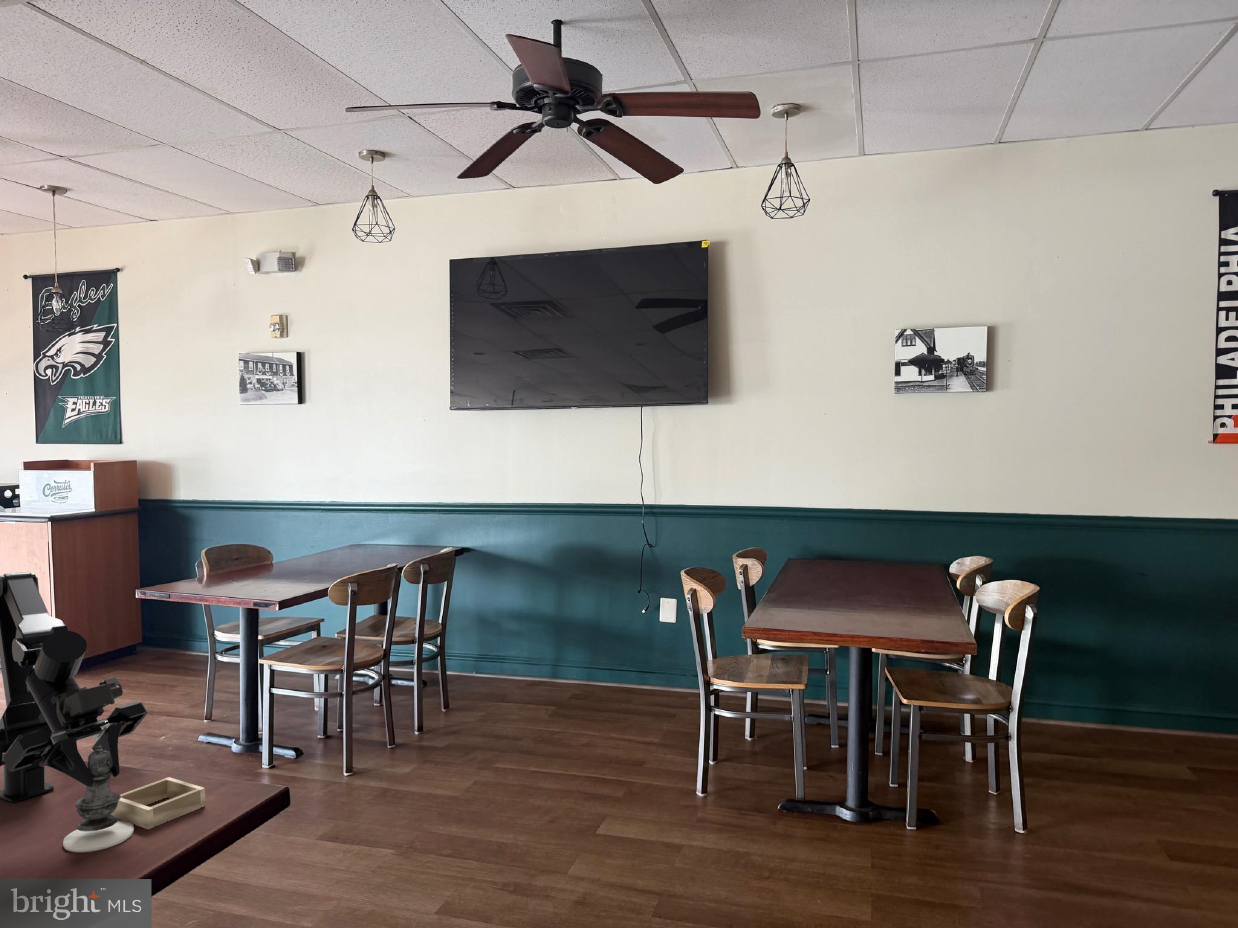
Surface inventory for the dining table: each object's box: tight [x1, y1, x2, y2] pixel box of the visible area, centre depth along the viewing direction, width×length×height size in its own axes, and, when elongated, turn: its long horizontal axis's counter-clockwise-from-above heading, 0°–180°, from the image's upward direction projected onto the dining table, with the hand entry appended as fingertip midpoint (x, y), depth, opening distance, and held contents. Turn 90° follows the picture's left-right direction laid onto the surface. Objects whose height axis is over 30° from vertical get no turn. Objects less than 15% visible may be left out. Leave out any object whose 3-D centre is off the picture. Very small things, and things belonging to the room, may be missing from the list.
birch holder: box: [111, 776, 206, 830], centre depth 133 cm, size 10×10×3 cm
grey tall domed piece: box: [74, 744, 121, 831], centre depth 123 cm, size 6×6×12 cm
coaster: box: [62, 820, 135, 853], centre depth 123 cm, size 9×9×1 cm
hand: (104, 779), depth 123 cm, fingers closed on grey tall domed piece, 4 cm apart
